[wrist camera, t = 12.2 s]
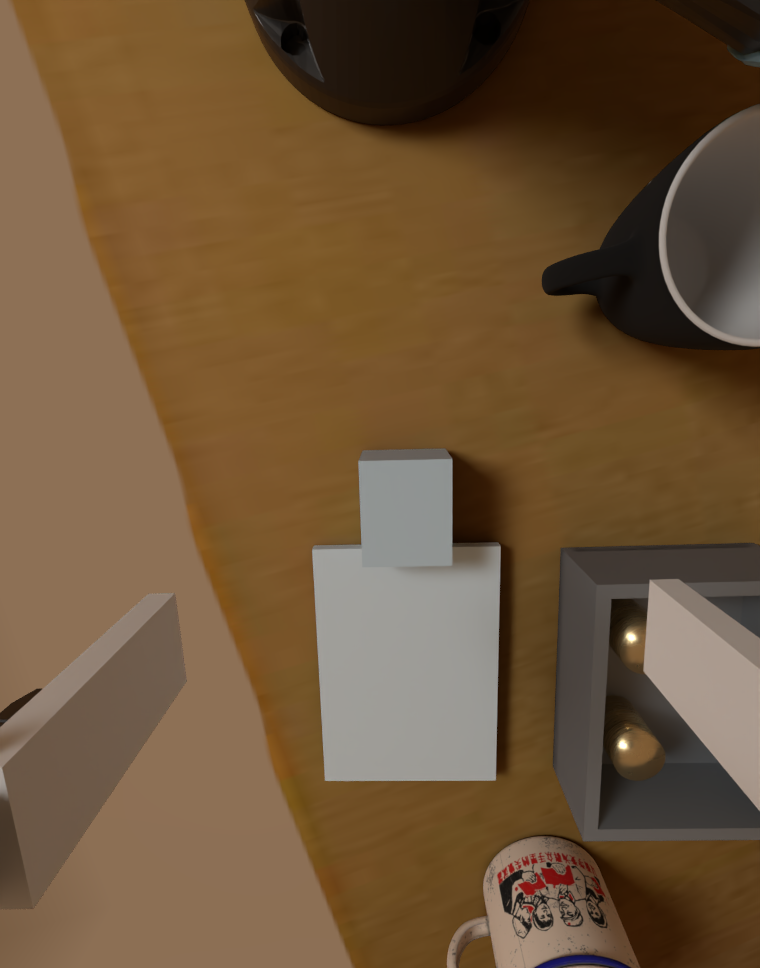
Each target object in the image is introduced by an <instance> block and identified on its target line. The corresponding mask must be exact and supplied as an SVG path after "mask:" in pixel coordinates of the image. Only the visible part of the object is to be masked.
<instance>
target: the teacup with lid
mask: <svg viewBox="0 0 760 968" xmlns="http://www.w3.org/2000/svg"><path fill="white" fill-rule="evenodd" d="M483 891H484V898H485V904H486V910H487V916H482V917H478V918H474V919H471V920H469V921H467V922H465V923H464V924H463V925H461V926H460V927H459V929H458V930H457V931H456V933H455V934H454V936H453V938H452V940H451V943H450V946H449V950H448V956H447V968H458V967H459V961H460V957H461V955H462V952H463V950H464V949H465V947H466V946H467V945H468V944H469V943H470V942H471V941H473V940H475V939H477V938H480V937H484V936H491V939H492V944H493V950H494V956H495V962H496V967H497V968H640V966H639V964H638V961H637V959H636V956H635V954H634V952H633V949H632V947H631V944H630V942H629V940H628V937H627V935H626V932H625V930H624V928H623V925H622V923H621V920H620V918H619V916H618V913H617V911H616V908H615V906H614V904H613V901H612V899H611V896H610V894H609V892H608V889H607V887H606V884H605V882H604V879H603V877H602V875H601V872H600V870H599V868H598V866H597V864H596V862H595V861H594V859H593V858H592V857H591V856H590V855H589V854H588V853H587V852H586V851H585V850H584V849H583V848H581V847H580V846H578V845H576V844H575V843H573V842H570V841H568V840H565V839H562V838H558V837H552V836H535V837H529V838H525V839H522V840H519V841H516V842H514V843H512V844H510V845H509V846H507V847H506V848H504V849H503V850H502V851H500V852H499V853H498V854H497V855H496V856H495V858H494V859H493V860H492V862H491V863H490V865H489V867H488V869H487V871H486V874H485V878H484V883H483Z"/></svg>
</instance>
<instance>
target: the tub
mask: <svg viewBox="0 0 760 968" xmlns="http://www.w3.org/2000/svg"><path fill="white" fill-rule="evenodd" d="M659 579H679V580H681V581H682V582H683V583H685V584H686V585H687V586H689V587H690V588H692V589H693V590H694V591H696V592H697V593H698V594H700V595H701V596H702V597H704V598H705V599H707V600H708V601H709V602H711V603H712V604H713V605H715V606H716V607H718V608H719V609H720V610H722V611H723V612H724V613H726V614H727V615H729V616H730V617H731V618H733V619H734V620H735V621H737V622H738V623H739V624H741V625H742V626H744V627H745V628H746V629H748V630H749V631H750V632H752V633H753V634H755V635H756V636H757V637H759V638H760V546H759V545H757V544H755V543H734V544H695V545H656V546H616V547H577V548H561V560H560V587H559V615H558V642H557V669H556V696H555V724H554V751H553V768H554V770H555V773H556V775H557V777H558V780H559V782H560V785H561V787H562V790H563V792H564V795H565V797H566V800H567V802H568V804H569V807H570V809H571V812H572V814H573V817H574V819H575V822H576V824H577V827H578V829H579V831H580V834H581V836H582V839H583V841H669V840H760V811H759V810H758V808H757V807H756V806H755V805H754V804H753V802H752V801H751V800H750V799H749V798H748V796H747V795H746V794H745V793H744V792H743V790H742V789H741V788H740V787H739V786H738V784H737V783H736V782H735V781H734V780H733V778H732V777H731V776H730V775H729V774H728V772H727V771H726V770H725V769H724V768H723V766H722V765H721V764H720V763H719V762H718V760H717V759H716V758H715V757H714V756H713V754H712V753H711V752H710V751H709V749H708V748H707V747H706V746H705V745H704V743H703V742H702V741H701V740H700V739H699V737H698V736H697V735H696V734H695V733H694V731H693V730H692V729H691V728H690V727H689V725H688V724H687V723H686V722H685V721H684V719H683V718H682V717H681V716H680V715H679V713H678V712H677V711H676V710H675V709H674V707H673V706H672V705H671V704H670V703H669V701H668V700H667V699H666V698H665V697H664V695H663V694H662V693H661V692H660V691H659V689H658V688H657V687H656V686H655V685H654V683H653V682H652V681H651V680H650V678H649V677H648V676H647V675H646V674H638V673H635V672H633V671H631V670H630V669H628V668H627V667H626V666H625V664H624V663H623V662H622V661H621V659H620V658H619V657H618V656H617V654H616V653H615V652H614V651H613V649H612V648H611V647H610V646H609V632H610V615H611V599H629V598H631V599H633V600H634V601H635V602H636V603H637V604H639V605H640V606H641V607H642V608H643V609H644V610H645V611H646V612H647V613H648V598H649V584H650V580H659ZM611 695H616V696H621V697H624V698H626V699H627V700H628V701H630V703H631V704H632V705H633V707H634V708H635V709H636V711H637V712H638V714H639V715H640V716H641V718H642V719H643V720H644V722H645V723H646V725H647V726H648V727H649V729H650V730H651V732H652V733H653V734H654V736H655V737H656V738H657V740H658V741H659V743H660V744H661V745H662V747H663V749H664V751H665V763H664V765H663V767H662V769H661V770H660V771H659V772H658V773H657V774H656V775H655V776H653V777H651V778H649V779H646V780H642V781H634V780H629V779H627V778H624V777H623V776H621V775H620V774H619V773H618V772H617V770H616V768H615V767H614V765H613V763H612V761H611V759H610V758H609V756H608V754H607V752H606V751H605V749H604V747H603V734H604V717H605V700H606V696H611Z"/></svg>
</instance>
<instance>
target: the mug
mask: <svg viewBox="0 0 760 968" xmlns="http://www.w3.org/2000/svg"><path fill="white" fill-rule="evenodd" d="M542 287H543V290H544V292H545V293H546V294H548V295H554V296H561V295H573V294H589V295H594V296H596V298H597V301H598V303H599V306H600V308H601V310H602V311H603V313H604V314H605V316H606V317H607V319H608V320H609V321H610V322H611V323H612V324H613V325H614V326H615V327H617V328H618V329H619V330H621V331H622V332H624V333H626V334H628V335H630V336H632V337H634V338H637V339H639V340H642V341H646V342H649V343H654V344H658V345H663V346H669V347H678V348H688V349H702V350H747V349H758V348H760V104H757V105H754V106H751V107H749V108H747V109H744V110H742V111H740V112H738V113H736V114H734V115H732V116H730V117H729V118H727V119H725V120H724V121H722V122H721V123H719V124H718V125H716V126H715V127H713V128H712V129H711V130H709V131H708V132H706V133H705V134H704V135H702V136H701V137H700V138H699V139H697V140H696V141H695V142H694V143H693V144H691V145H690V146H689V147H688V148H686V149H685V150H684V151H683V152H682V153H681V154H679V155H678V156H677V157H676V158H675V159H674V160H673V161H672V162H670V163H669V164H668V165H667V166H666V167H665V168H664V169H663V170H662V171H661V172H660V173H659V174H658V175H657V176H656V177H655V178H654V179H653V180H652V181H651V182H650V183H649V184H648V185H647V186H646V187H645V188H644V189H643V190H642V191H641V192H640V193H639V194H638V195H637V196H636V197H635V198H634V199H633V200H632V202H631V203H630V204H629V205H628V206H627V207H626V209H625V210H624V211H623V212H622V213H621V215H620V216H619V217H618V219H617V220H616V222H615V223H614V224H613V226H612V227H611V229H610V230H609V232H608V234H607V235H606V237H605V239H604V241H603V243H602V245H601V247H600V249H599V250H595V251H591V252H587V253H583V254H580V255H577V256H573V257H570V258H567V259H565V260H562V261H559V262H557V263H555V264H553V265H551V266H549V267H547V268H546V269H545V271H544V272H543V276H542Z"/></svg>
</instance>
